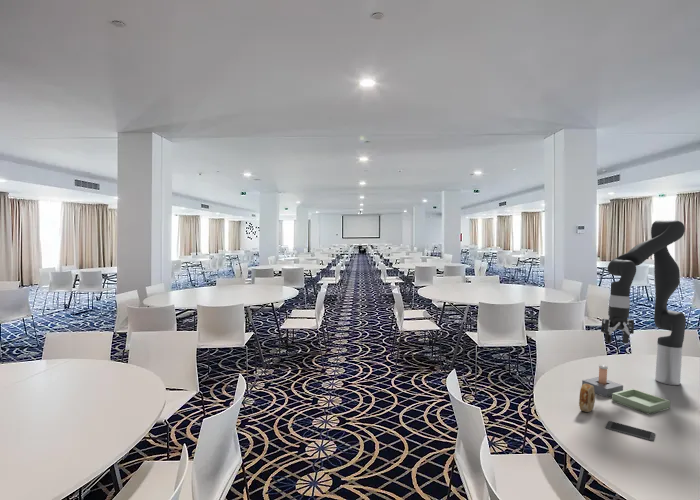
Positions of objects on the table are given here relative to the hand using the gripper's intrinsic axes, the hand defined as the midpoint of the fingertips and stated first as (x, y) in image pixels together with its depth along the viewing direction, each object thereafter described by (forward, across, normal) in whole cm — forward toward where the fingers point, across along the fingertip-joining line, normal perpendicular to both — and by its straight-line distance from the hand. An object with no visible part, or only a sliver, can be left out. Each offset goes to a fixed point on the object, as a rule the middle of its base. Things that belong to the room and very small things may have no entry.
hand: (616, 343), depth 181 cm
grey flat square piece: (+21, +5, 0) cm, 22 cm away
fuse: (+21, +5, 0) cm, 22 cm away
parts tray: (+21, +1, +14) cm, 25 cm away
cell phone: (+23, +24, +34) cm, 47 cm away
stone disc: (+22, +27, +17) cm, 39 cm away
